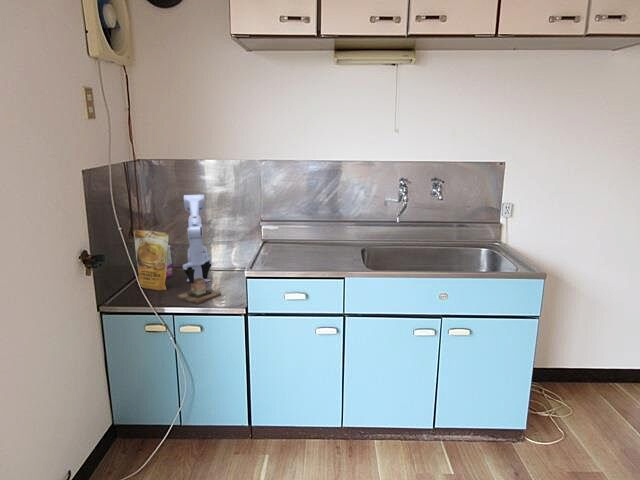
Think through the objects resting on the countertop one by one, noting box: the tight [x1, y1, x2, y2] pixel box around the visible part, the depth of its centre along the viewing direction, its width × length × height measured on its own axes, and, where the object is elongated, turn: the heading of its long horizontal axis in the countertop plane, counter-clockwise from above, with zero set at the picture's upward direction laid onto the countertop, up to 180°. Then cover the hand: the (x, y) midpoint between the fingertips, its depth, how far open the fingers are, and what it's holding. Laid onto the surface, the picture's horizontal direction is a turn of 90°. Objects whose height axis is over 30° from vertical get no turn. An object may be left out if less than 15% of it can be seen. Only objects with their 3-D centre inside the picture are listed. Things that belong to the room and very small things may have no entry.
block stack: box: [190, 278, 207, 295], centre depth 218 cm, size 4×4×7 cm
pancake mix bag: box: [132, 229, 170, 291], centre depth 228 cm, size 7×19×28 cm, turn 69°
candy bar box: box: [166, 245, 174, 279], centre depth 243 cm, size 11×5×16 cm, turn 148°
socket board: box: [176, 288, 222, 305], centre depth 219 cm, size 14×14×2 cm
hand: (198, 280), depth 217 cm, fingers open, 7 cm apart
